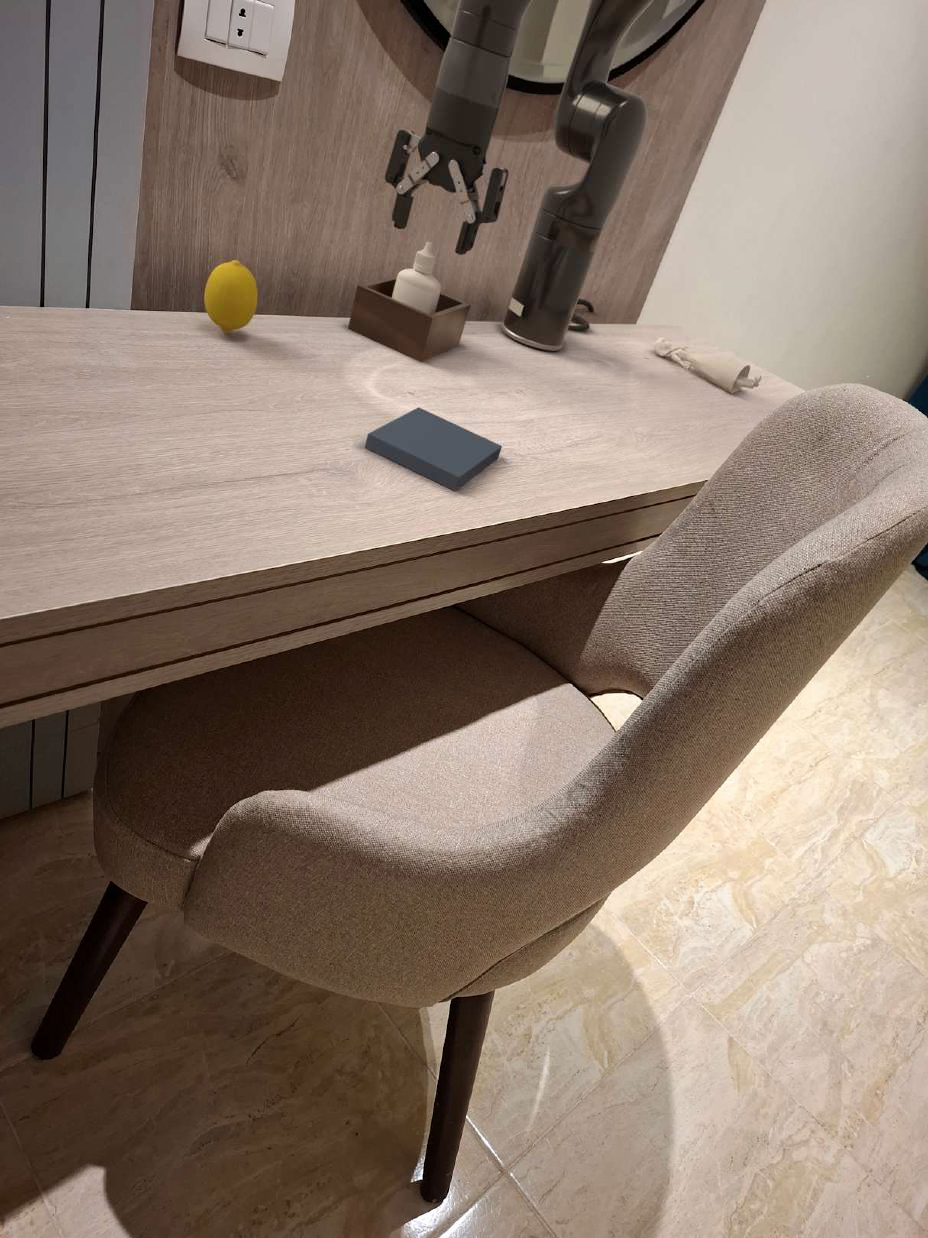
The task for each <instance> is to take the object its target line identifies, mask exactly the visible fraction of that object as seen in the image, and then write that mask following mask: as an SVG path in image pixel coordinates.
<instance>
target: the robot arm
mask: <svg viewBox="0 0 928 1238" xmlns="http://www.w3.org/2000/svg"><path fill="white" fill-rule="evenodd" d="M532 1H533V0H459V1H458V5H457V9H456V13H455V15H454V20H453V24H452V28H451V33H450V37H449V39H448V43H447V46H446V48H445V51H444V53H443V56H442V60H441V62H440V68H439V70H438V72H437V75H436V82H435V83H436V84H435V87H434V92H433V95H432V100H431V103H430V107H429V111H428V116H427V119H426V123H425V130H424V133H423V135H422V136H419V135H417V134H416V133H415V132H414V131H413V130H411V129H399V130H398V131H397V133H396V136H395V140H394V144H393V147H392V150H391V154H390V157H389V161H388V163H387V168H386V171H385V175H384V181H385V182H386V183H387V184H389V185H390V186H392V187H393V188H394V189H395V192H396V197H395V201H394V206H393V210H392V214H391V221H392V222H393V228H396V229H398V230H404V229H406V228H407V225H408V221H409V217H410V213H411V210H412V206H413V202H414V199H415V197H414V196H412V194H413V193H414V192H415V191H417V190H418V189H419V188H420V187H421V186H423V185H424V184H427V183H428V184H429V185H432V186H434V187H441V188H442V189H443V190H445V191H446V192H448V193H451V194H454V193H456V195H457V199H458V202H459V203H460V204H461V206H462V210H463V214H464V218H465V220H463V222H462V225H461V228H460V231H459V235H458V238H457V242H456V245H455V249H454V252H455V254H457V255H459V256H463V255H466V254H467V253H468V252H470V251H472V249H473V248H474V245H475V242H476V238H477V234H478V231H479V227H480V226H481V225H482V224H490V223H496V222H497V221H498V219H499V215H500V210H501V208H502V207H501V206H502V202H503V198H504V194H505V190H506V186H507V182H508V178H509V169H508V168H507V167H497V166H493V165H490V164H488V163H487V152H488V150H489V147H490V143H491V140H492V138H493V137H492V136H493V133H494V130H495V126H496V122H497V119H498V115H499V112H500V109H501V106H502V101H503V98H504V94H505V91H506V87H507V83H508V79H509V75H510V74H509V73H510V68H511V67H510V66H511V62H512V58H513V54H514V51H515V47H516V45H517V41H518V38H519V34H520V29H521V26H522V21H523V19H524V16H525V13H526V12H527V10H528V8H529V6H530V5H531V3H532ZM654 1H655V0H589V4H588V8H587V11H586V15H585V18H584V21H583V26H582V29H581V32H580V34H579V35H580V36H579V38H578V41H577V45H576V47H575V50H574V53H573V57H572V59H571V62H570V66H569V67H568V68H569V69H568V71H567V74H566V77H565V81H564V84H563V86H562V90H561V92H560V96H559V100H558V104H557V107H556V112H555V117H554V122H553V136H554V137H553V138H554V143H555V146H556V147H557V148H558V150H559V151H560V152H562V153H563V154H565V155H568V156H569V157H572V158H574V159H577V160H579V161H581V162H583V163H586V164H588V166H587V168H586V170H585V173H584V175H583V176H582V177H581V178H580V180H577V181H575V182H572V183H560V184H559V183H558V184H551V185H548V186H547V188H546V189H545V191H544V193H543V197H542V200H541V203H540V206H539V209H538V213H537V215H536V219H535V222H534V225H533V229H532V232H531V234H530V238H529V242H528V245H527V247H526V249H525V250H526V251H525V253H524V257H523V260H522V263H521V266H520V270H519V273H518V275H517V279H516V281H515V285H514V288H513V292H512V295H511V297H510V301H509V304H508V307H507V310H506V313H505V316H504V319H503V320H502V324H501V325H500V326H501V331H502V332H503V333H504V334H505V335H506V336H508V337H509V338H511V339H513V340H514V341H516V342H519V343H521V344H523V345H526V346H529V347H532V348H534V349H538V350H541V351H542V350H543V351H550V352H551V351H552V352H554V351H555V352H557V351H560V350H562V349H563V345H564V343H565V338H566V335H567V334H568V333H567V332H568V331H570V332H585V331H587V330H589V329H590V326H591V325H590V323H589V321H587V319H584V318H583V317H582V316H580V315H578V314H576V313H575V312H576V308H577V306H578V305H579V306H584V307H586V308H587V309H588V312H590V313H594V312H595V309H594V306H593V304H592V303H591V302H590V301H589V300H587V299H583V298H580V296H581V294H582V291H583V289H584V285H585V282H586V281H587V277H588V275H589V272H590V269H591V267H592V264H593V261H594V258H595V255H596V253H597V249H598V246H599V244H600V241H601V238H602V236H603V233H604V230H605V227H606V224H607V221H608V219H609V217H610V216H611V214H612V212H613V210H614V209H615V207H616V205H617V204H618V201H619V198H620V196H621V194H622V192H623V189H624V187H625V184H626V181H627V179H628V177H629V175H630V172H631V170H632V167H633V166H634V165H633V164H634V162H635V160H636V158H637V155H638V152H639V150H640V148H641V145H642V143H643V139H644V136H645V132H646V129H647V125H648V124H647V123H648V108H647V104H646V102H645V100H644V99H643V98H642V97H640V96H639V95H637V94H635V93H633V92H630V91H628V90H625V89H623V88H620V87H617V86H615V85H612V84H609V83H608V79H609V75H610V72H611V68H612V65H613V62H614V59H615V56H616V54H617V51H618V49H619V47H620V45H621V43H622V41H623V39H624V38H625V37H626V34H627V33H628V31H629V30H630V29H631V27H632V26H633V25H634V24H635V22H636V21H637V20H638V19H639V18H640V17H641V15H642V14H643V13H644V12H645V11H646V9H648V7H649V6H651V4H652V3H653V2H654ZM416 149H417V151H418V155H419V158H420V163H419V164H418V165H417V166H416V167H414V168H413V169H412V170H411V171H410V172H409V173H408V174H407V176H405V173H406V170H407V166H408V163H409V160H410V156H411V154H414V153H415V152H416ZM483 175H484V177H485V179H484V182H485V185H486V186H487V189H486V194H485V198H484V202H483V207H482V206H481V205H480V194H479V191H478V187H477V183H476V181H477V180H479V179H480V178H481V177H482V176H483ZM481 207H482V208H481ZM572 320H574V321H575V322H577V323H579V324H581V325H573V324H572V325H571V322H572Z"/></svg>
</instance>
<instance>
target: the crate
mask: <svg viewBox="0 0 928 1238" xmlns="http://www.w3.org/2000/svg"><path fill="white" fill-rule="evenodd" d="M397 276H398V274H397V275H394V276H389V277H385V278H381V279H380V278H379V279H377V280H373V281H369V282H365V283H360V284H357V286H356V290H355V295H354V299H353V303H352V309H351V314H350V318H349V323H348V326H347V329H348V330H351V331H352V332H355V333H357V334H359V335H361V336H364V337H366V338H368V339H371V340H373V341H375V342H377V343H380V344H381V345H384V346H385V347H388V348H390V349H392V350H395V351H396V352H399V353H401V354H404V355H406V356H408V357H409V358H413V359H414V360H417V361H419V362H424V361H426V360H428V359H430V358H432V357H435V356H437V355H440V354H441V353H444V352H446V351H448V350H451V349H454V348H455V347H457V346H459V345H460V343H461V339H462V335H463V332H464V329H465V325H466V323H467V318H468V315H469V313H470V308H471V304H469V303H467V302H465V301H462V300H460V299H458V298H456V297H453V296H451V295H449V294H446V293H445V292H441V291H440V295H439V299H438V303H437V307H436V310H435V313H434V314H431V315H429V314H427V313H425V312H422V311H420V310H418V309H416V308H413V307H411V306H409V305H406V304H404V303H402V302H400V301H397V300H395V299H393V298H392V295H393V291H394V287H395V283H396V279H397Z"/></svg>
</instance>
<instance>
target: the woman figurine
mask: <svg viewBox="0 0 928 1238" xmlns="http://www.w3.org/2000/svg"><path fill="white" fill-rule="evenodd" d="M672 346H673V344H672V342H670V340H667V341H666V340H665V337H659V338H658V339H657V340H656V341H655V342H654V344H653V351H654V352H655V354H656V355H657V356H661V357H664V356H665V357H666V356H669V358H670V359H671V360H673V361H676V363H678V364H679V365H681V367H682V368H683V369H684V370H685V371H688V369H689V366H690V365H691V367H692V368H693V370H695V372H698V373H699V374H700V375H702V376H703V377H705V378H706V379H707V380H709V381H710V382H712V383H714V384H715V385H717V386H718V387H720V388H722V389H723V390H725V391H726V392H728V393H730V394H734V393H736V392H739V391H740V390H741V389H742V388H746V389H750V390H753V389H754V388H758V387H759V386H760V382H761V381H762V376H761V375H759V377H758V378H757V376H755V377H754V379H750V378H748V377H749V374H750V371H751V365H750V364H746V363H743V362H739V361H734V360H729V359H726V358H725V359H724V358H720V357H715V356H710V355H706V354H705V355H704V354H700V353H693V352H692V351H691V350H690V349H691V347H690V346H688V345H680V346H676V347H673V348H672ZM684 362H689V363H684Z"/></svg>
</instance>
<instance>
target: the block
mask: <svg viewBox="0 0 928 1238" xmlns="http://www.w3.org/2000/svg"><path fill="white" fill-rule="evenodd" d="M364 448H365V449H367V450H369V451H371V452H373V453H375V454H377V455H379V456H381V457H383V458H386V459H388V460H390V461H392V462H394V463H396V464H398V465H400V466H402V467H404V468H406V469H409V470H410V471H412V472H415V473H416V474H419V475H421V476H422V477H425V478H427V479H429V480H431V481H433V482H435V483H438V484H439V485H442V486H444V487H446V488H448V489H450V490H452V491H453V492H456V491H457V490H458V489H459V488H460V489H461V487H463V486H464V485H465V484H466V483H469V481H470V480H472V479H473V478H475V477H476V476H477V475H478V474H480V473H481V472H483V470H485V469H486V468H488V467H489V466H490V465H492V464H493V463H495V462H496V461H497V460H498V459H499V457H500V454H501V451H502V448H503V446H502V445H501V444H498V443H497V442H495V441H492V440H490V439H488V438H485V437H484V436H482V435H479V434H477V433H475V432H473V431H471V430H469V429H467V428H464V427H462V426H460V425H458V424H456V423H453V422H451V421H449V420H447V419H446V418H443V417H441V416H439V415H436V414H434V413H432V412H430V411H428V410H426V409H423V408H421V407H420V406H419V407H416V408H414V409H412V410H410V411H409V412H407V413H405V414H403V415H401V416H399V417H397V418H395V419H394V420H391V421H389V422H387V423H385V424H383V425H382V426H380V427H378V428H376V429H374V430H372V431H371V432H368V433H367V436H366V441H365V444H364Z"/></svg>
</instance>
